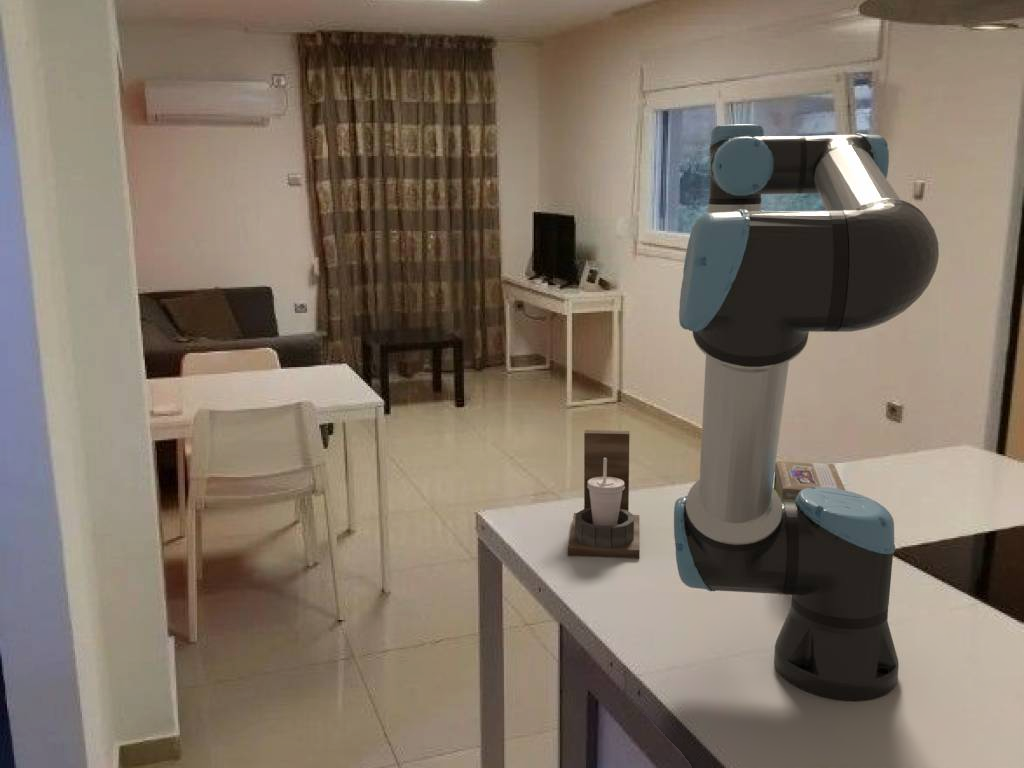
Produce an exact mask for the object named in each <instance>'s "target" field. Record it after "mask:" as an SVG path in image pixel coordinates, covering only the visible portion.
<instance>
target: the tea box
mask: <svg viewBox="0 0 1024 768" xmlns="http://www.w3.org/2000/svg"><path fill="white" fill-rule="evenodd" d="M813 487H828V488H836V489H841V490H846V488H845V486H844V483H843V481H842V479H841V477H840V475H839V473H838V470H837V468H836V466H835V464H833V463H832V464H831V463H817V462H816V463H815V462H797V461H796V462H795V461H781V460H780V461H778V460H776V465H775V473H774V481H773V489H774V490H775V491H776V492H777V494H778V496H779V497H780V500H781V501H782V502H796V497H797V496H798V493H799V492H800V491H801V490H803V489H805V488H813Z"/></svg>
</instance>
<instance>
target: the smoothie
mask: <svg viewBox="0 0 1024 768" xmlns="http://www.w3.org/2000/svg"><path fill="white" fill-rule="evenodd" d="M606 475H607V458H604V462H603V477H595V478H591V479H589V480H588V485H587V487H588V489H589V491H590V501H591V510H592V519H593V524H594V525H597V526H613V525H617V523H618V517H619V510H620V504H621V497H622V490H624V489H625V487H624V481H623V480H621V479H618V478H614V477H606Z"/></svg>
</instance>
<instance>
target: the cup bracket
mask: <svg viewBox="0 0 1024 768" xmlns="http://www.w3.org/2000/svg"><path fill="white" fill-rule="evenodd" d="M630 431H631V430H610V429H609V430H603V429H601V430H600V429H596V430H595V429H585V430H584V434H583V435H584V436H583V439H584V442H583V443H584V446H583V447H584V448H583V449H584V453H583V455H584V457H583V458H584V459H583V461H584V463H583V465H584V466H583V468H584V475H583V476H584V477H583V479H584V480H583V481H584V482H583V484H584V485H583V487H584V489H583V493H584V494H583V495H584V496H583V497H584V499H583V500H584V501H583V504H584V505H583V507H584V508H583V509H582V510H580V511H577V512H574V513H573V516H572V523H571V527H570V532H569V539H568V542H567V543H568V544H567V556H569V557H571V556H573V557H590V558H591V557H592V558H593V557H594V558H616V559H617V558H618V559H619V558H621V559H640V556H641V555H640V547H641V546H640V545H641V542H640V538H641V537H640V515H639V514H633V513H632V512H630V511H629V502H630V500H629V497H630V495H629V493H630V435H631V434H630V433H631V432H630ZM604 458H607V475H606V477H614V478H618V479H621V480H623V481H624V487H625V489H624V490H622V497H621V504H620V510H619V517H618V523H617V525H613V526H597V525H594V524H593V519H592V510H591V501H590V491H589V489H588V487H587V485H588V480H589V479H591V478H595V477H603V462H604Z"/></svg>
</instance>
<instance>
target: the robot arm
mask: <svg viewBox="0 0 1024 768" xmlns="http://www.w3.org/2000/svg"><path fill="white" fill-rule="evenodd" d="M710 138H711V139H710V144H709V153H710V154H709V155H710V156H709V194H708V195H709V197H708V206H707V207H708V209H707V213H704V214H703V215H701V216H700V217H698V219H697V220H696V221H695V223H694V224H693V226H692V228H691V231H690V234H689V236H688V237H689V238H688V243H687V247H686V253H685V257H684V263H683V271H682V272H683V276H682V281H681V288H680V297H679V310H678V320H679V325H680V327H681V328H682V329H683V330H686V331H687V330H688V331H689V332H692V338H693V340H694V343H695V345H696V346H697V347H698V349H699V350H700V351H701V352H702V353H703V354H704V355H705V368H704V385H703V386H704V387H703V389H704V390H703V405H702V407H703V408H702V409H703V410H702V423H701V425H702V427H701V443H700V444H701V445H700V446H701V447H700V464H699V465H700V466H699V479H698V480H697V481H695V483H693V485H692V486H691V487H690V489H689V491H688V492H687V495H685V496H681V497H678V498H677V499H676V500H675V503H674V507H673V537H674V545H675V558H676V559H675V561H676V566H677V571H678V576H679V579H680V580H681V582H682V583H683V584H684V585H685V586H687V587H688V588H692V589H701V590H706V591H708V592H716V591H719V592H737V593H754V594H755V593H757V594H772V595H773V594H776V595H786V596H787V595H791V602H790V603H791V604H790V609H789V610H788V613H787V615H786V617H785V620H784V622H783V625H782V626H781V629H780V631H779V633H778V637H776V641H775V644H774V653H773V654H774V656H773V660H774V661H773V663H774V666H775V669H776V671H777V672H778V673H779V674H780V676H782V677H783V678H784V679H785V680H786V681H787V682H789V683H790V684H792V685H794V686H795V687H798V688H799V689H801V690H804V691H807V692H809V693H812V694H814V695H818V696H821V697H825V698H829V699H836V700H842V701H843V700H845V701H863V700H871V699H875V698H876V699H877V698H880V697H882V696H885V695H886V694H888V693H890V692H891V691H892V690H893V689H895V687H896V686H897V683H898V678H899V658H898V656H897V649H896V647H895V643H894V640H893V636H892V633H891V628H890V627H889V626H890V625H889V623H888V622H889V621H888V617H889V616H888V615H889V605H890V592H891V582H892V581H891V580H892V570H893V559H894V558H893V557H894V553H895V551H896V545H895V544H896V543H895V521H894V518H893V516H892V514H891V512H890V511H889V510H888V509H887V508H886V507H885V506H884V505H882V504H880V503H879V502H878V501H876V500H874V499H872V498H870V497H867V496H865V495H863V494H859V493H856V492H852V491H849V490H846V489H845V490H841V489H836V488H828V487H813V488H805V489H803V490H801V491H800V492H799V493H798V496H797V497H796V502H782V501H781V500H780V497H779V496H778V494H777V492H776V491H775V490H774V478H775V465H776V461H777V456H778V449H779V443H780V442H779V441H780V440H779V439H780V434H781V433H780V432H781V427H782V426H781V424H782V418H783V411H784V410H783V409H784V404H785V403H784V400H785V394H786V393H785V392H786V389H787V388H786V386H787V379H788V372H789V371H788V370H789V365H790V364H789V363H790V362H791V361H792V360H794V359H796V358H797V357H798V356H799V355H800V354H801V353H802V352H803V351H804V349H805V347H806V346H807V343H808V338H809V333H810V332H813V333H814V332H815V333H823V332H827V333H828V332H830V333H831V332H832V333H833V332H834V333H835V332H836V333H837V332H839V333H841V332H842V333H844V332H846V333H847V332H849V333H850V332H851V333H852V332H857V331H863V330H867V329H871V328H873V327H877V326H880V325H882V324H884V323H887V322H888V321H890V320H892V319H894V318H896V317H897V316H899V315H901V314H902V313H904V312H905V311H906V310H908V308H910V307H911V306H912V305H913V304H914V303H915V302H917V300H919V299H920V298H921V296H922V295H923V293H924V292H925V291H926V290H927V288H928V287H929V285H930V284H931V281H932V279H933V277H934V275H935V272H936V271H937V266H938V263H939V255H940V254H939V240H938V236H937V234H936V231H935V228H934V227H933V225H932V224H931V222H930V220H929V219H928V218H927V216H926V215H925V214H924V213H923V211H922V210H920V209H919V207H917V206H915V205H914V204H912V203H910V202H909V201H906V200H902V199H901V198H900V197H899V195H898V194H897V192H896V191H895V190H894V188H893V187H892V185H891V184H890V182H889V180H888V178H887V177H888V172H889V164H890V163H889V162H890V158H889V157H890V155H889V154H890V153H889V148H888V141H887V140H886V138H885V137H883V135H880V134H863V133H858V132H857V133H852V134H834V135H832V134H831V135H830V134H829V135H828V134H827V135H791V136H790V135H789V136H788V135H786V136H784V135H783V136H782V135H781V136H777V135H774V136H765V130H764V128H763V126H762V125H760V124H749V123H746V124H743V123H741V124H724V125H716V126H714V128H713V129H712V130H711V135H710ZM787 194H788V195H790V194H792V195H795V194H800V195H801V194H803V195H807V194H808V195H809V194H811V195H812V194H815V195H816V194H818V195H819V197H820V199H821V203H822V205H823V206H824V210H785V211H784V210H783V211H782V210H781V211H779V210H776V211H775V210H774V211H770V210H769V211H768V210H767V211H765V210H764V209H761V208H762V195H787Z"/></svg>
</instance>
